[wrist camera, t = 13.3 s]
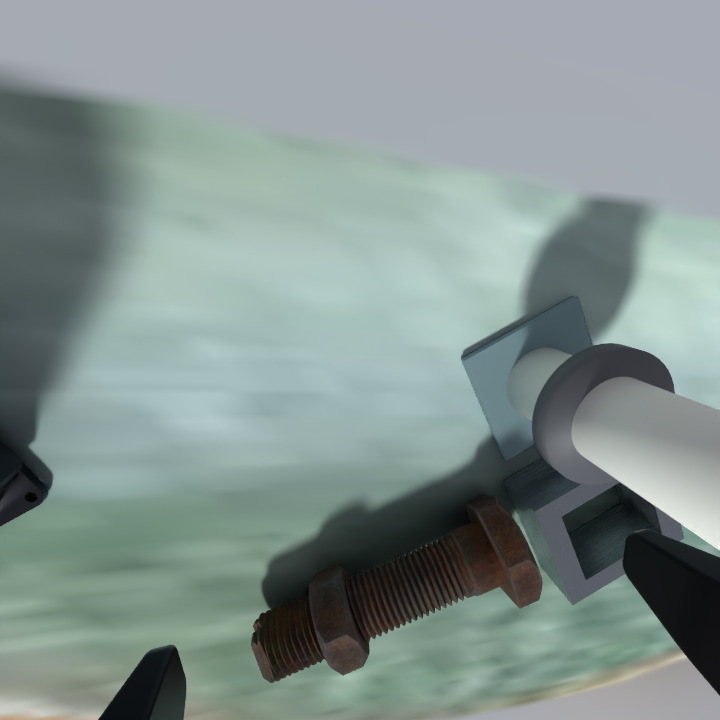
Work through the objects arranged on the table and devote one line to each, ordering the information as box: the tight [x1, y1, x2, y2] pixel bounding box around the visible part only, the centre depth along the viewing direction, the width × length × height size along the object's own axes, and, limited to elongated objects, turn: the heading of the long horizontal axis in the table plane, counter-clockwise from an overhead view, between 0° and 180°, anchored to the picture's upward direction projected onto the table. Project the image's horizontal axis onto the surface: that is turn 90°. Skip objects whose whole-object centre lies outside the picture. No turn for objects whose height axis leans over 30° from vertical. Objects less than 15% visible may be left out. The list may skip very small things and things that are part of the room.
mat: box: [461, 296, 592, 461], centre depth 22 cm, size 7×7×1 cm
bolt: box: [251, 496, 542, 683], centre depth 22 cm, size 6×5×15 cm
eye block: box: [504, 458, 684, 605], centre depth 24 cm, size 8×8×3 cm
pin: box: [507, 343, 720, 550], centre depth 16 cm, size 6×6×13 cm
